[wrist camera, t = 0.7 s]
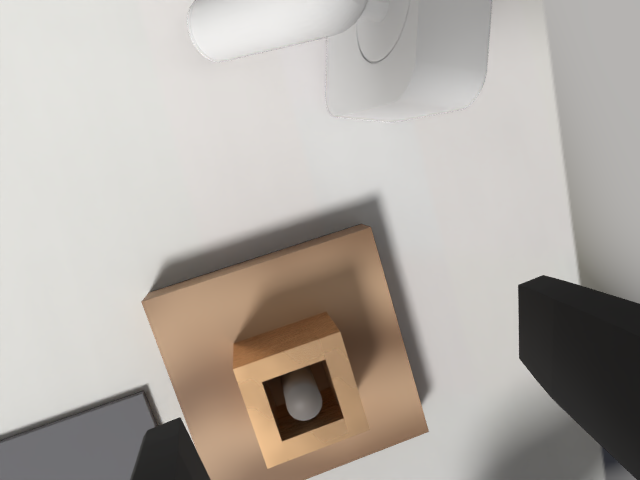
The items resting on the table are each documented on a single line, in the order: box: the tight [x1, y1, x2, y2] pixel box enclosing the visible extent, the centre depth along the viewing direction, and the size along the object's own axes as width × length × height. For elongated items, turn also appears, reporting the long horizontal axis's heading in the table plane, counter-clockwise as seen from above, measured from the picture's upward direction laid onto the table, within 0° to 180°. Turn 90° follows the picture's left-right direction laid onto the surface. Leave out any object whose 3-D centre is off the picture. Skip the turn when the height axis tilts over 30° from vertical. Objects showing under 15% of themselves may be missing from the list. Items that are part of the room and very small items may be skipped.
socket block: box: [142, 224, 429, 480], centre depth 25 cm, size 12×12×6 cm
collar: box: [233, 312, 370, 469], centre depth 24 cm, size 5×5×4 cm
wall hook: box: [187, 0, 492, 123], centre depth 21 cm, size 8×10×10 cm
